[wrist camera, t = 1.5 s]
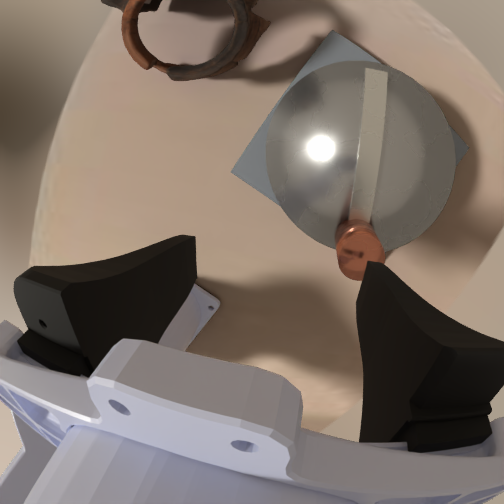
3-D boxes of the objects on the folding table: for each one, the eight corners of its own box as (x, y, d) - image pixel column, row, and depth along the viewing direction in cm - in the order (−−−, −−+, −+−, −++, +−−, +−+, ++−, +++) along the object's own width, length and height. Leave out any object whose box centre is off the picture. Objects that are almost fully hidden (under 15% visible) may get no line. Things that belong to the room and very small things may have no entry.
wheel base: (365, 264, 21) (368, 273, 20) (234, 169, 20) (229, 173, 19) (462, 146, 15) (471, 148, 14) (331, 33, 14) (332, 28, 13)
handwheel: (368, 264, 20) (383, 312, 14) (239, 170, 19) (211, 191, 13) (463, 148, 15) (510, 163, 9) (335, 37, 14) (344, 5, 8)
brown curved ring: (294, -23, 13) (294, -23, 9) (248, 70, 21) (228, 116, 16) (143, -55, 10) (79, -52, 6) (119, 38, 18) (63, 76, 13)
